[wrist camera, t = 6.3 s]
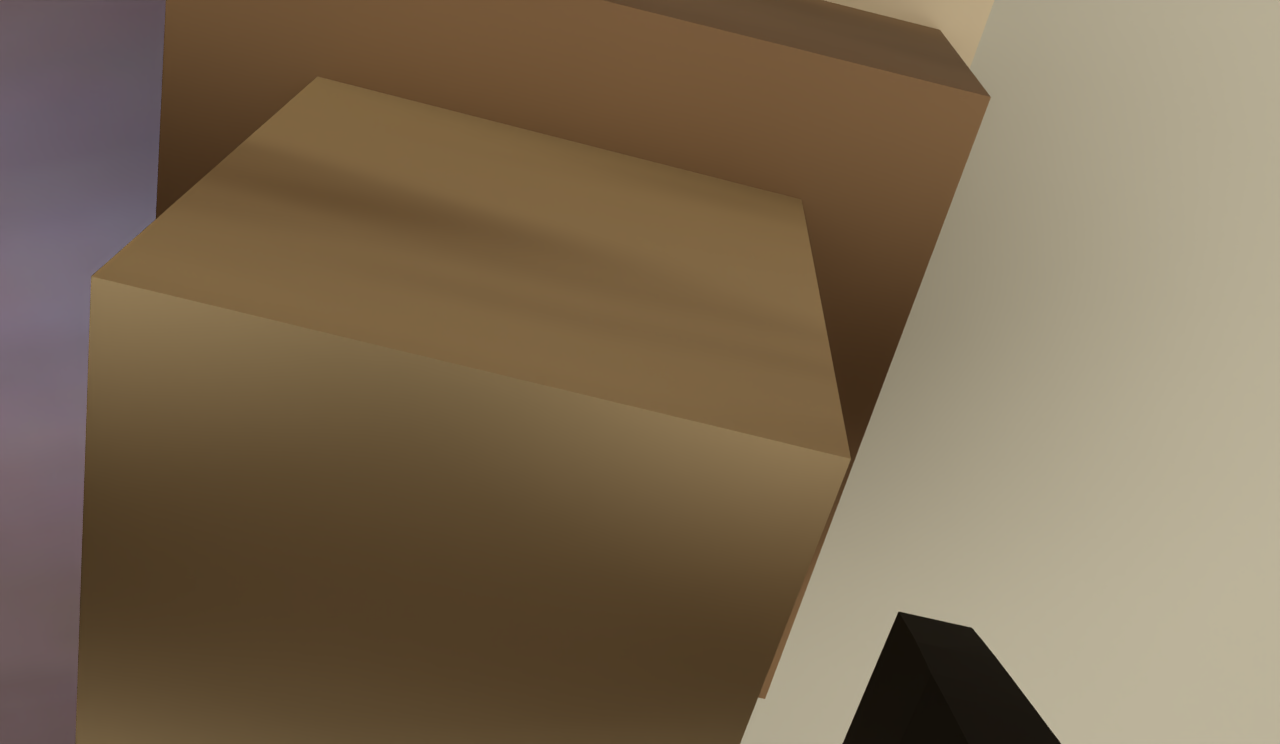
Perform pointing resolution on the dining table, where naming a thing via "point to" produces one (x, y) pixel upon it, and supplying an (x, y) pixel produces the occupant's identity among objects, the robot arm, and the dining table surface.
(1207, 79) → the plain cream board
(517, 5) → the walnut slab
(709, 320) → the light wooden cube
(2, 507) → the dining table surface
